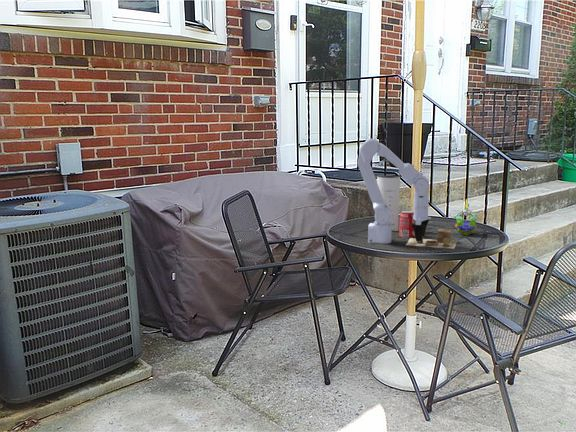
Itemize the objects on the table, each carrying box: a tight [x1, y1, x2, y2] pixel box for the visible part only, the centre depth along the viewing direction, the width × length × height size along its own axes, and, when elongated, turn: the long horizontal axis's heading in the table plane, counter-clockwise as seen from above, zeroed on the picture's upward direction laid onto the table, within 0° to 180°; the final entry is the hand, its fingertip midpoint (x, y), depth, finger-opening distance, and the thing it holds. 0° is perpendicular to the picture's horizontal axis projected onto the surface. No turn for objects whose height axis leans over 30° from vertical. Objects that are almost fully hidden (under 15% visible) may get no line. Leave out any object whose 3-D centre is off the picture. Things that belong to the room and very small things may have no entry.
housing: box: [436, 228, 452, 243], centre depth 214 cm, size 5×5×5 cm
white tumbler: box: [376, 175, 401, 232], centre depth 239 cm, size 11×10×26 cm
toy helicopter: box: [454, 198, 478, 236], centre depth 229 cm, size 25×9×15 cm, turn 162°
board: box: [405, 237, 458, 250], centre depth 212 cm, size 19×14×4 cm
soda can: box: [398, 209, 416, 238], centre depth 226 cm, size 7×7×12 cm
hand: (420, 238), depth 213 cm, fingers open, 7 cm apart
